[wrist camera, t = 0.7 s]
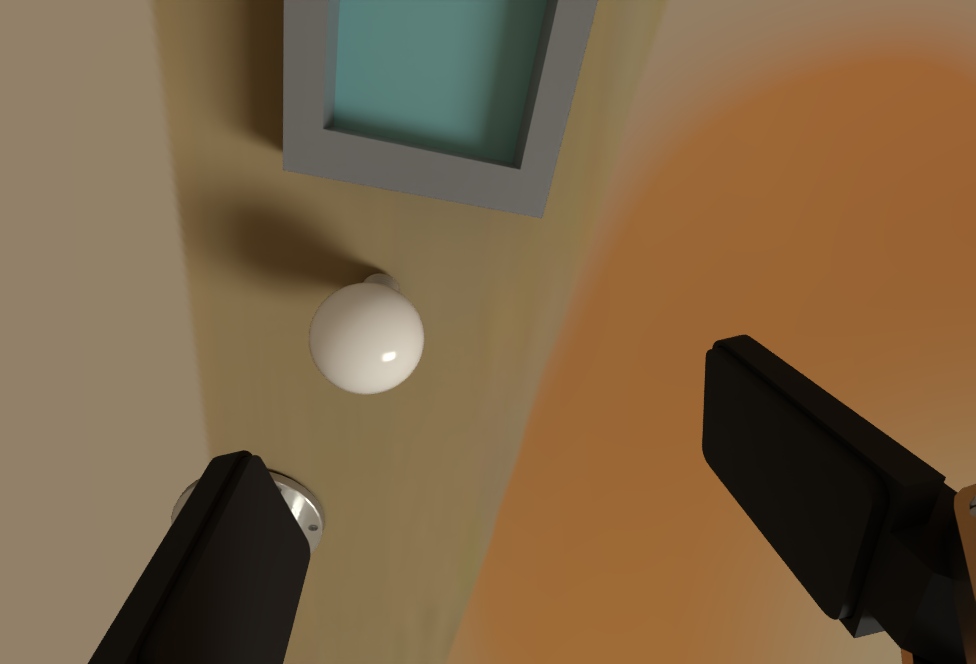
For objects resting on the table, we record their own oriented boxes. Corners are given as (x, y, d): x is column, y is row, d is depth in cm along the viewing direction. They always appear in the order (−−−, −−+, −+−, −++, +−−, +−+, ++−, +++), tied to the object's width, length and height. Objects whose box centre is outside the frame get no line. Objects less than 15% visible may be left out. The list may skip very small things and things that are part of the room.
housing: (529, 204, 31) (542, 218, 28) (301, 160, 28) (282, 169, 25) (601, -93, 24) (629, -126, 21) (308, -190, 21) (285, -247, 18)
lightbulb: (323, 254, 31) (275, 325, 21) (414, 237, 31) (406, 299, 22) (351, 334, 34) (319, 427, 24) (433, 317, 34) (435, 404, 25)
